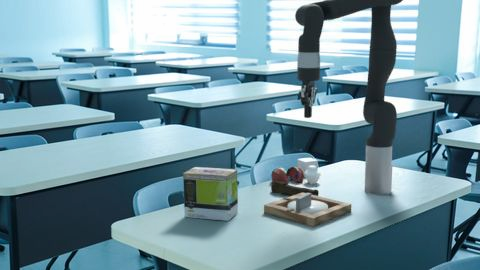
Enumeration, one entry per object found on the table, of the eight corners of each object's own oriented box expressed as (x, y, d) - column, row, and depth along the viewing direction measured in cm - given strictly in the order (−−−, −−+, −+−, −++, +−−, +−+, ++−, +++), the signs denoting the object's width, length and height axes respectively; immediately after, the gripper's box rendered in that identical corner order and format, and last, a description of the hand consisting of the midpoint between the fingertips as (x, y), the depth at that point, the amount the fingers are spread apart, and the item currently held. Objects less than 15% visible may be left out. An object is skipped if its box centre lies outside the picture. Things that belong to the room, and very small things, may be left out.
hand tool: (319, 199, 214) (319, 186, 213) (313, 202, 211) (313, 189, 210) (275, 190, 226) (276, 178, 225) (269, 193, 223) (269, 180, 222)
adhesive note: (304, 176, 246) (304, 161, 245) (297, 173, 251) (297, 158, 250) (317, 174, 248) (317, 160, 247) (310, 171, 254) (310, 157, 252)
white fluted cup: (302, 183, 234) (302, 166, 233) (306, 180, 240) (307, 162, 239) (318, 185, 232) (318, 167, 231) (322, 181, 237) (322, 163, 236)
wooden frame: (302, 200, 213) (302, 191, 212) (351, 212, 199) (351, 203, 199) (263, 213, 199) (263, 203, 198) (313, 227, 185) (313, 217, 184)
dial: (299, 202, 208) (299, 186, 207) (334, 208, 200) (335, 192, 199) (280, 211, 197) (280, 195, 196) (316, 218, 190) (316, 201, 189)
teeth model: (306, 166, 236) (281, 170, 230) (306, 182, 237) (281, 187, 231) (292, 163, 243) (268, 167, 237) (293, 178, 244) (268, 183, 238)
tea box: (238, 212, 199) (238, 168, 197) (227, 222, 190) (227, 175, 187) (195, 208, 204) (195, 165, 202) (183, 217, 195) (182, 172, 192)
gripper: (313, 67, 197) (312, 121, 200) (325, 65, 209) (324, 115, 212) (291, 67, 200) (290, 119, 203) (304, 64, 212) (303, 114, 215)
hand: (307, 117), depth 208 cm, fingers closed
